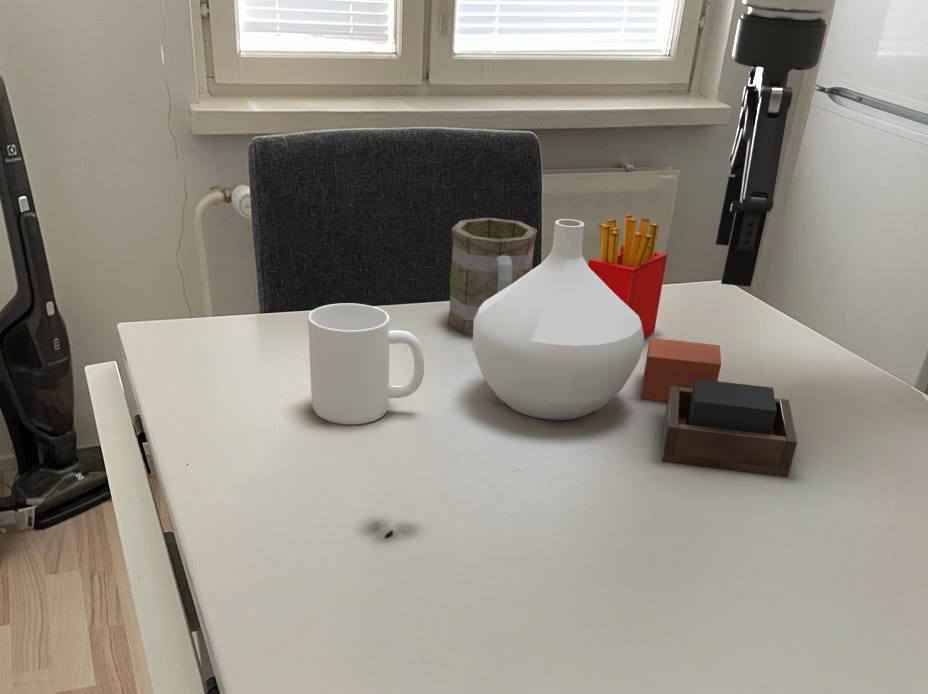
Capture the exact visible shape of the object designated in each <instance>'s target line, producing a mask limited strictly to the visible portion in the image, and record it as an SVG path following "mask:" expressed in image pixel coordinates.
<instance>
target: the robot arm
mask: <svg viewBox="0 0 928 694" xmlns="http://www.w3.org/2000/svg"><path fill="white" fill-rule="evenodd" d="M742 3H743V5H744V7H747V8H748V12H745V13H743V14H741V17H739V18H738V21H737V26H736V33H735V37H734V43H733V49H732V53H731V54H732V55H731V57H732V60H733V61H734V62H735V63H737V64H739V65H742V66H745V67H750V68H751V69H750V70H749V72H748V77H749V78H748V84H747V85H744V88H743V92H742V100H741V109H740V113H739V121H738V126H737V130H736V134H735V138H734V142H733V146H732V150H731V154H730V155H729V158H728V161H729V167H728V171H729V175H731V176H729V175H728V176H727V181H726V186H725V191H724V195H723V196H724V197H723V202H722V205H721V206H722V207H721V212H720V217H719V222H718V227H717V232H716V238H715V242H714V243H715V246H716V245H718V246H727V251H726V255H725V261H724V265H723V270H722V271H723V272H722V275H721V280H720V282H721V285H730V286H740V287H751V286H752V283H753V278H754V273H755V268H756V265H757V259H758V255H759V251H760V246H761V241H762V237H763V233H764V228H765V224H766V219H767V217H768V216H767V215H768V213H770V212H771V211H772V209H773V207H774V204H775V203H774V195H775V189H776V183H777V177H778V171H779V166H780V159H781V152H782V147H783V141H784V135H785V130H786V123H787V117H788V112H789V110H790V107H791V105H792V99H793V94H794V92H793V87H791V86H790V87H789V86H788V80H789V79H788V78H789V72H791V71H793V70H794V71H795V70H797V71H807V70H811V69H813V68H815V67H816V66H818V64H819V61H820V57H821V52H822V48H823V44H824V39H825V35H826V31H827V27H828V24H827V23H826V20H825V19H823V16H824V13H828V12H829V11H830V10H831V9H832V8H833V4H834V0H742ZM787 86H788V87H787Z"/></svg>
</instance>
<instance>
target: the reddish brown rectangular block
mask: <svg viewBox="0 0 928 694" xmlns="http://www.w3.org/2000/svg"><path fill="white" fill-rule="evenodd" d="M648 340H649V341H648V347H647V352H646V358H645V364H644V371H643V376H642V385H641V393H640V394H641V395H640V399H643V400H650V401H651V400H652V401H659V402H667V401H668V396H669V391H670V386H674V387H683V388H691V389H693V385H694V380H695V379H702V380H711V381H719V376H720V372H721V367H722V359H721V358H722V356H721V345H720V344H711V343H703V342H693V341H684V340H675V339H665V338H659V337H649V339H648Z"/></svg>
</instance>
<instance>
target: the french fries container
mask: <svg viewBox="0 0 928 694" xmlns="http://www.w3.org/2000/svg"><path fill="white" fill-rule="evenodd" d="M650 220H651V219H650V218H646V217H641V218H640V223H639V229H638V231H636V227H637V219H635V218H633V215H632V214H625V215H624V225H623V226H624V228H623V244H621V245H620V251H619V243H620V227H617V220H616V219H614V218H613V219H612V218H610V219H607V220H606V223H601V224H599V241H600V242H599V243H600V259H596V258H590V259H588V263H587V265H588V267H589V268H590V269H591V270H592V271H593V272H594V273H595V274H596V275H597V276H598V277H599V278H600V279H601V280H602V281H603V282H604V283H605V284H606V285H607V286H608V287H609V288H610V289H611V290H612V291H613V292H614V293H615V294H616V295H617V296H618V297H619V298H620V299H621V300H622V301H623V302H624V303H625V304H626V305H627V306H628V307H630V308H631V309H632V310H633V311H634V312H635V313H636V314H637V315H638V316H639V318H640V321H641V324H642V329H643V334H644V339H645V338H647V337H648V336H651V335H652V334H654V333H655V330H656V325H657V318H658V313H659V306H660V302H661V294H662V290H663V282H664V278H665V277H664V276H665V270H666V266H667V260H668V259H667V258H668V253H664V252H659V251H656V246H657V239H658V234H659V227H660V224H658V223H650ZM649 225H650V227H649ZM648 229H649V232H648Z"/></svg>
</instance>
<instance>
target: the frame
mask: <svg viewBox="0 0 928 694" xmlns="http://www.w3.org/2000/svg"><path fill="white" fill-rule="evenodd" d="M692 390H693V389H691V388H683V387H674V386H670V391H669V396H668V401H666V407H665V413H664V419H663V433H662V434H663V437H662V454H661V455H662V457H661V461H662V462H669V463H676V464H685V465H692V466H693V465H694V466H700V467H708V468H717V469H724V470H734V471H740V472H750V473H756V474H765V475H773V476H779V477H780V476H781V477H788V476H789V474H790V470H791V466H792V463H793V459H794V456H795V452H796V448H797V445H798V439H797V434H796V429H795V423H794V419H793V414H792V408H791V404H790V403H791V402H790V400H789V399H786V398H777V397H775V403H776V409H777V413H776V417H775V420H774V424H773V428H772V432H771V435H768V434H760V433H751V432H743V431H735V430H727V429H718V428H710V427H702V426H693V425H686V420H687V415H688V410H689V405H690V400H691V395H692Z"/></svg>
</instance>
